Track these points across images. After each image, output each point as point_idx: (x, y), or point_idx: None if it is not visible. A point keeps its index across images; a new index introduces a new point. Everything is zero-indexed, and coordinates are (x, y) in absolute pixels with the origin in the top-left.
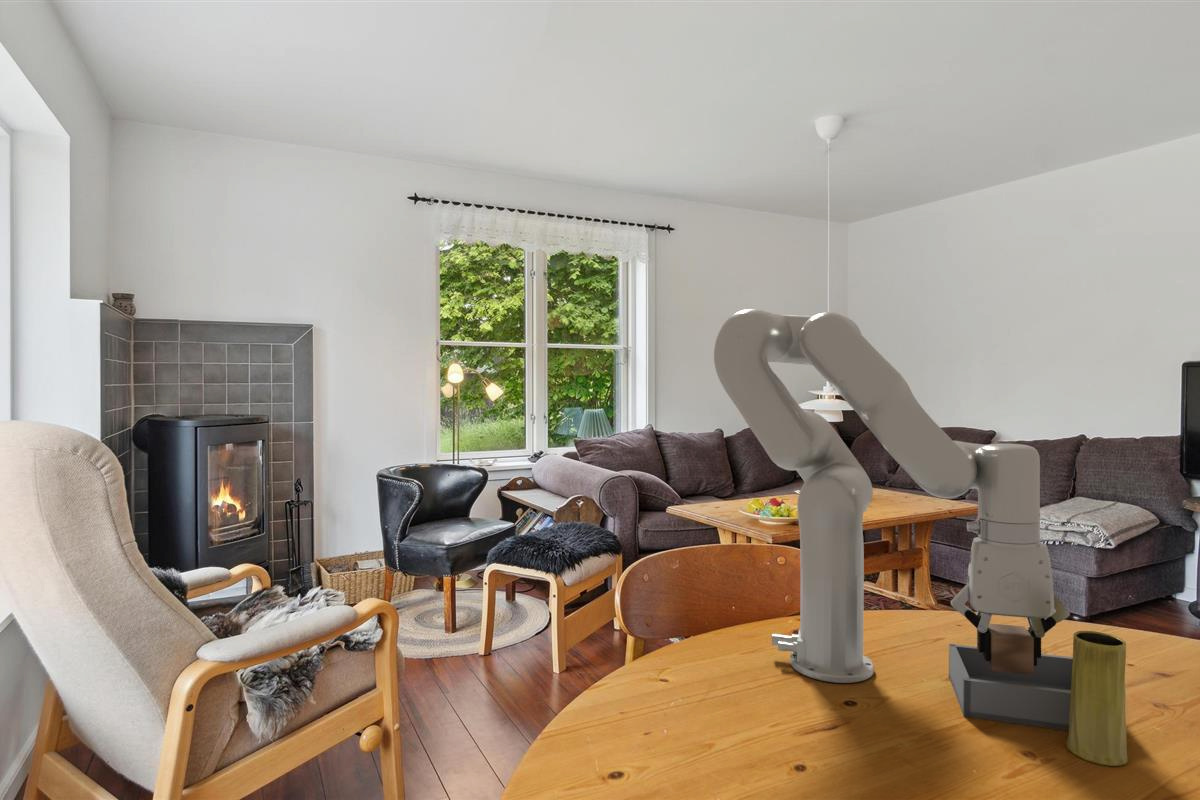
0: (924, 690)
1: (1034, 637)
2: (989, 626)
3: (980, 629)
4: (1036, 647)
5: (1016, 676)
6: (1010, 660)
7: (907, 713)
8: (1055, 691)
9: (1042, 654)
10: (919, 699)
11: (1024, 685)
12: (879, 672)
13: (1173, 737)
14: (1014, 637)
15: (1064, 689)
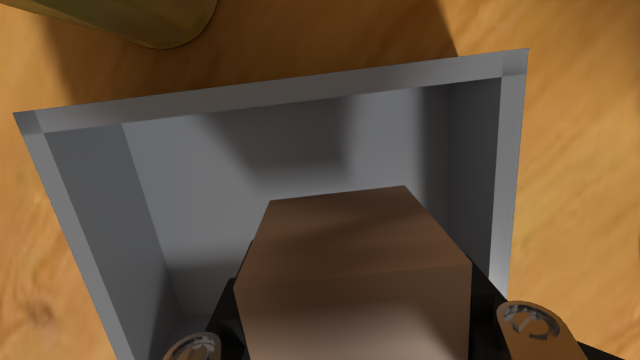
0: (532, 187)
1: (229, 324)
2: None
3: (532, 318)
4: (234, 282)
5: None
6: (348, 211)
7: (617, 8)
8: (206, 89)
9: None
10: (558, 123)
11: (307, 96)
12: (627, 250)
13: (5, 163)
14: (341, 274)
15: (209, 300)
